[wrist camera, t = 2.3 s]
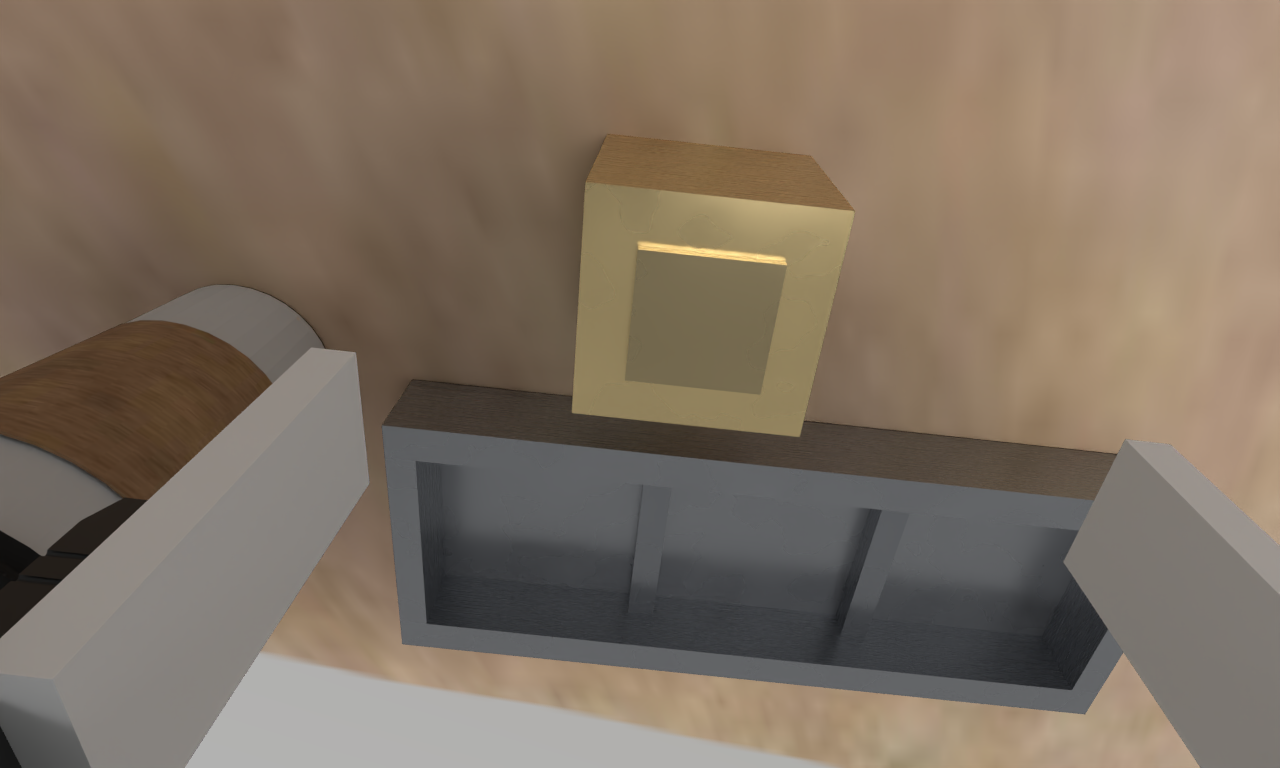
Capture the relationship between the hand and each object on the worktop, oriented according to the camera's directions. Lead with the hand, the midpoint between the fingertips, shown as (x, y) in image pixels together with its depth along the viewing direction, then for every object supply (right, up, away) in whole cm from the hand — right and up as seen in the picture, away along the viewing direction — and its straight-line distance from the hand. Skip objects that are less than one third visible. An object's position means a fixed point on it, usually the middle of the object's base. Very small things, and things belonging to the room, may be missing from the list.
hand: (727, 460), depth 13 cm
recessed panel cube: (0, +6, +10) cm, 12 cm away
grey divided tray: (+3, -4, +15) cm, 16 cm away
